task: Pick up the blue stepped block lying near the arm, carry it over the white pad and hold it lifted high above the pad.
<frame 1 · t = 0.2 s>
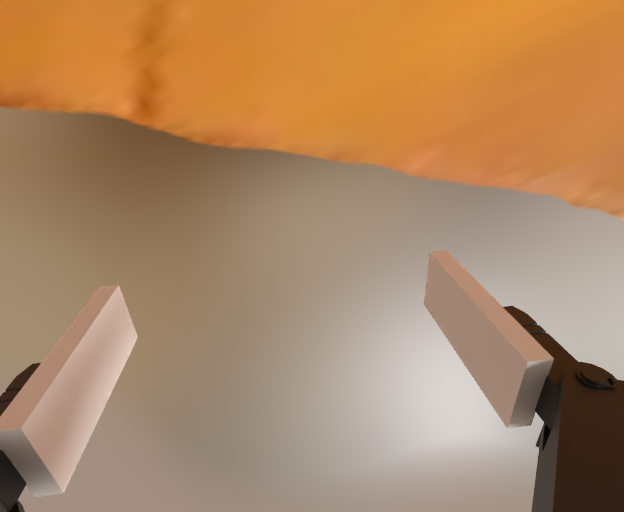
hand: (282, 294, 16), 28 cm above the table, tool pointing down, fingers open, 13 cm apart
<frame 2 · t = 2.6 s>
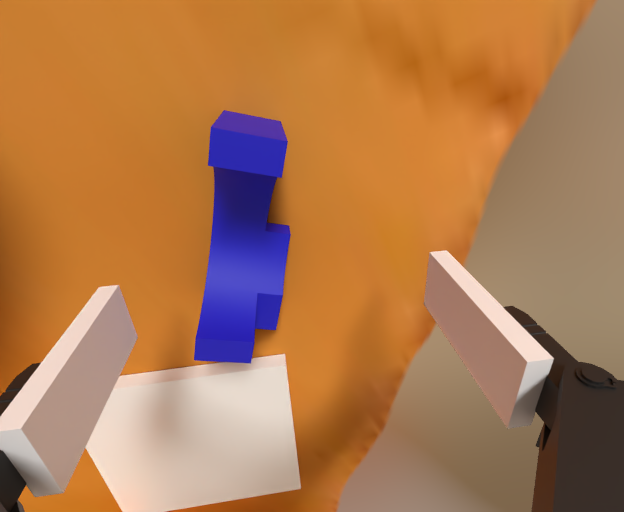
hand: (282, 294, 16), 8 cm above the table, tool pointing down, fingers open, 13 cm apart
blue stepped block: (252, 218, 22), on the table
white pad: (199, 436, 30), on the table
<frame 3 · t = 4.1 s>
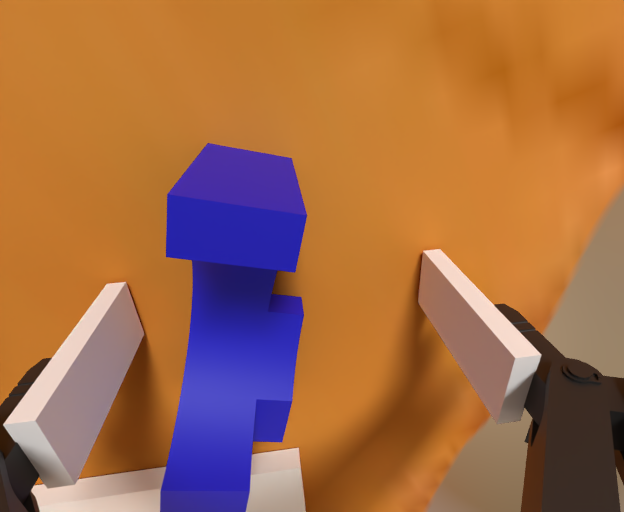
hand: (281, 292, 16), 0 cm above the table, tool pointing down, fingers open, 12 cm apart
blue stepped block: (251, 287, 16), on the table
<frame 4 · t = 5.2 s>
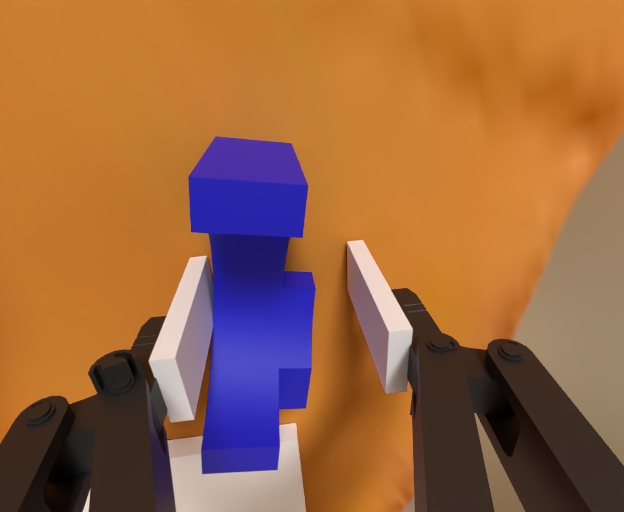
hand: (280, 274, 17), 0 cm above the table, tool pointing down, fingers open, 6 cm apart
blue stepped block: (265, 268, 17), on the table, touching gripper
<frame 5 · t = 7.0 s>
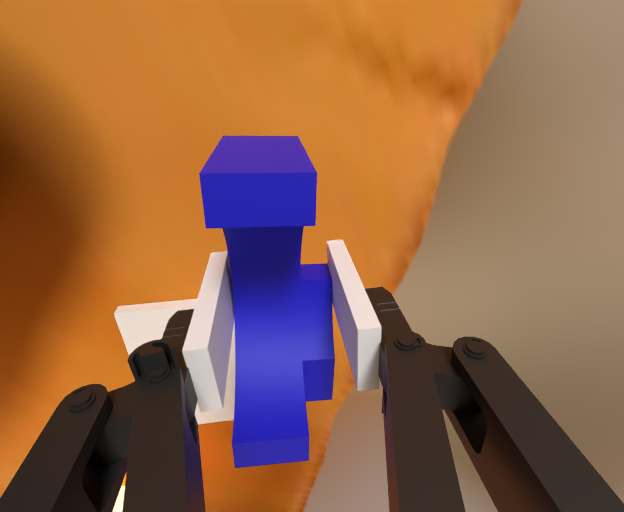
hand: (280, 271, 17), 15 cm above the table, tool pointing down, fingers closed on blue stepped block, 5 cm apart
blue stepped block: (281, 263, 18), point 14 cm above the table, touching gripper
white pad: (218, 360, 38), on the table
orange juice: (127, 451, 43), on the table
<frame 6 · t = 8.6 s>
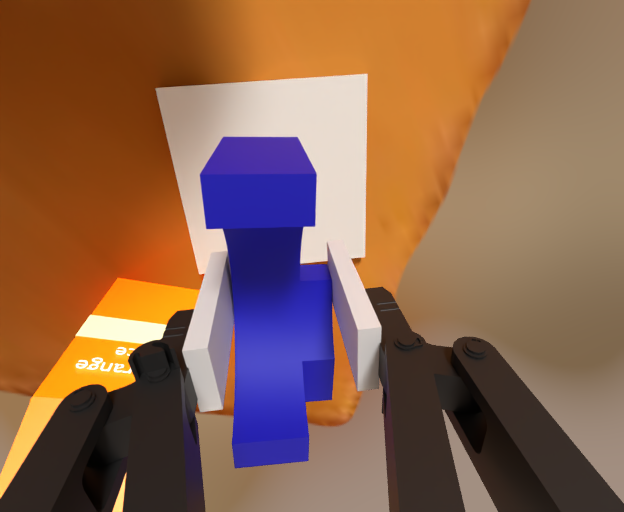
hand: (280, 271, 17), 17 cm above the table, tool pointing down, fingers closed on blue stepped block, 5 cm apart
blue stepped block: (281, 263, 18), point 16 cm above the table, touching gripper
white pad: (274, 180, 32), on the table
orange juice: (162, 313, 37), on the table
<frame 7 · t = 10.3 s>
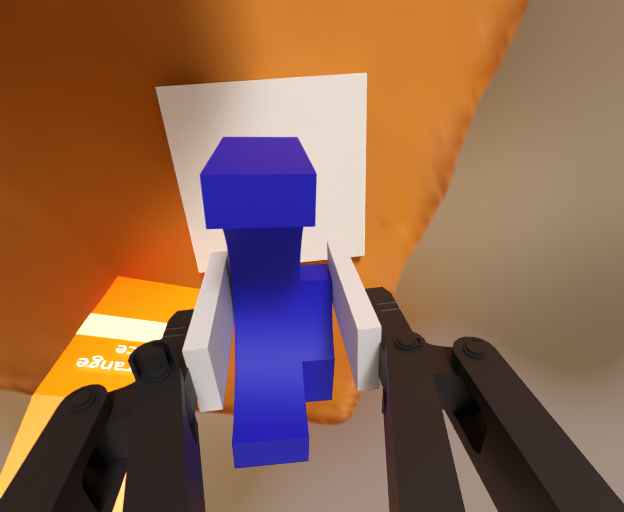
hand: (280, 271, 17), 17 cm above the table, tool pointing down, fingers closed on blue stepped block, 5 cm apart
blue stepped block: (281, 263, 18), point 16 cm above the table, touching gripper
white pad: (274, 179, 32), on the table
orange juice: (162, 312, 37), on the table
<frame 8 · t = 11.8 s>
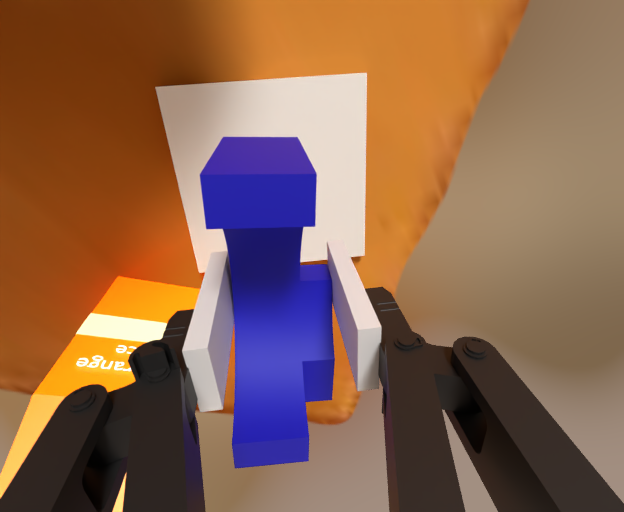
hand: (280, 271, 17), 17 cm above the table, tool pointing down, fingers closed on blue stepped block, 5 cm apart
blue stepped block: (281, 263, 18), point 16 cm above the table, touching gripper
white pad: (274, 179, 32), on the table
orange juice: (162, 312, 37), on the table
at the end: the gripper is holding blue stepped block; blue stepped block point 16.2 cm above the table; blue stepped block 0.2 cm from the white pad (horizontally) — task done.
